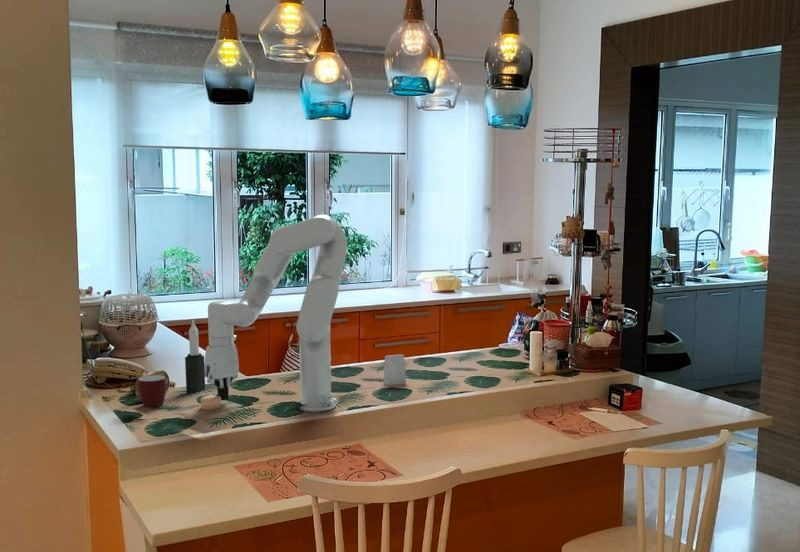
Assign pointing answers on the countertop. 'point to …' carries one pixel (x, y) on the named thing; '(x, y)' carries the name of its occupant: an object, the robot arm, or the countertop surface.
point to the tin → (150, 375)
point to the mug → (152, 390)
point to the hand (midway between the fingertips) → (223, 399)
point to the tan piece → (224, 407)
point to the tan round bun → (211, 402)
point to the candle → (194, 364)
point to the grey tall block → (394, 370)
